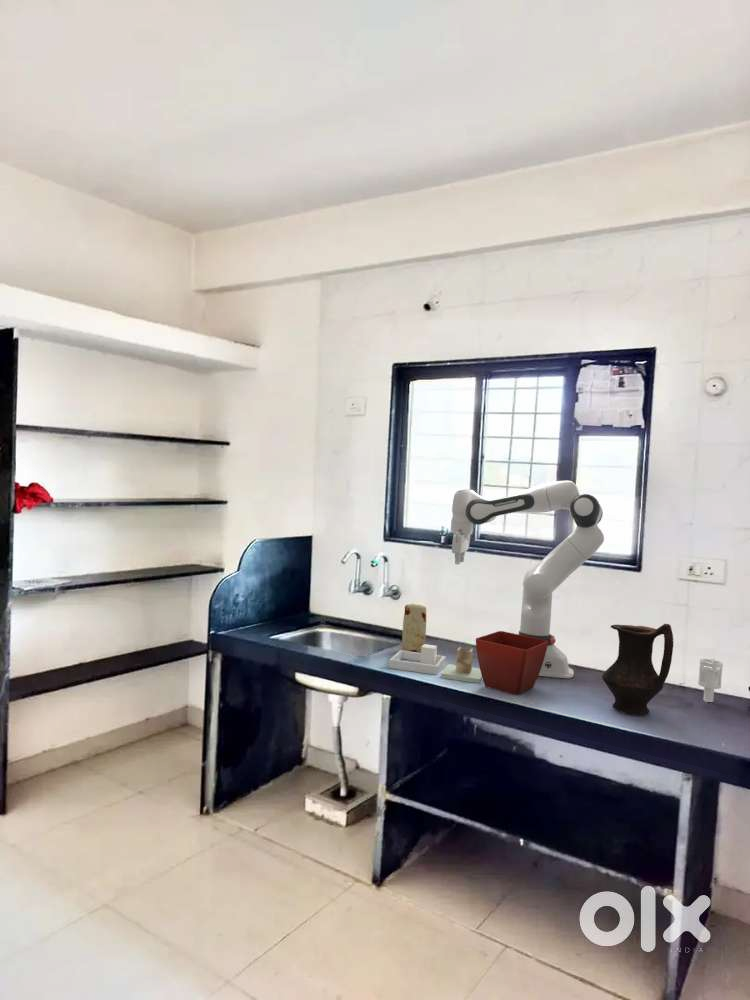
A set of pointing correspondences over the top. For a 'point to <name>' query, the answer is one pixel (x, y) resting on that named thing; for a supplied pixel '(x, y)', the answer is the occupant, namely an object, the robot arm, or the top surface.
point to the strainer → (710, 677)
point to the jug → (637, 668)
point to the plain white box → (428, 654)
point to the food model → (414, 628)
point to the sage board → (461, 674)
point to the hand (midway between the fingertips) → (459, 563)
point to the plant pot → (510, 661)
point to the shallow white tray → (415, 667)
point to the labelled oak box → (464, 660)
